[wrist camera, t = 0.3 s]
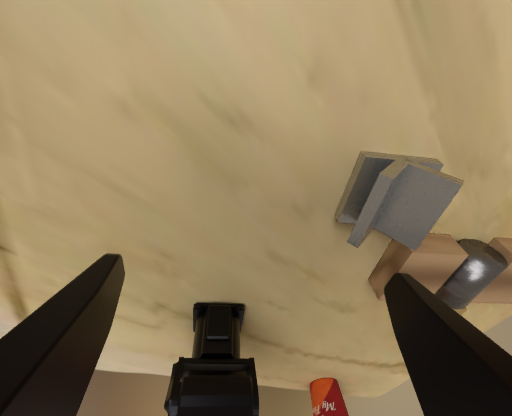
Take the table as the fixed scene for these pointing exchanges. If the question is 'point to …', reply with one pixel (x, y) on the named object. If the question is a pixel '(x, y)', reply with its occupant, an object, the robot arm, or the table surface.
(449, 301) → the dark grey rounded block
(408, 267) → the beam
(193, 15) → the table surface
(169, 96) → the table surface
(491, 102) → the table surface
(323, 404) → the paper cup
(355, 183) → the v block
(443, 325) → the robot arm
